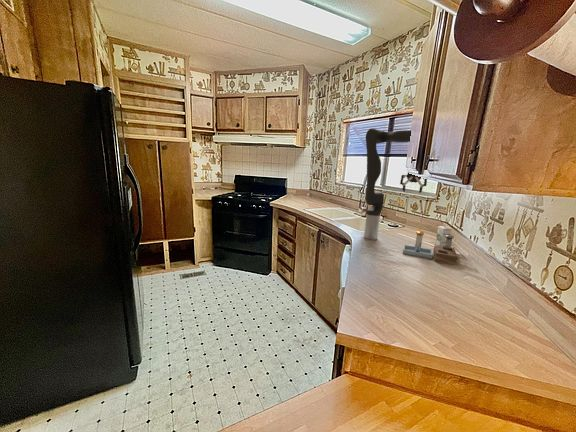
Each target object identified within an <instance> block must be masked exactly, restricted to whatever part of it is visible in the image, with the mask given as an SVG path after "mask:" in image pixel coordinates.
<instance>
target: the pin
mask: <svg viewBox="0 0 576 432" xmlns="http://www.w3.org/2000/svg"><path fill="white" fill-rule="evenodd" d="M445 237H446V241H445V247H444V249H445V250H451V248H452V243H453V239H455V238H454V237H455V236H454V235H452V234H451V235H445Z"/></svg>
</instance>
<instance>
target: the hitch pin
mask: <svg viewBox="0 0 576 432" xmlns="http://www.w3.org/2000/svg"><path fill="white" fill-rule="evenodd" d="M415 233H416V237H415V238H416V239H415V244H414V247H415V249H414V251H415V252H420V250H421V248H422V243H423V236H424V235H425V232H424V231H420V230H416V232H415Z"/></svg>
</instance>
